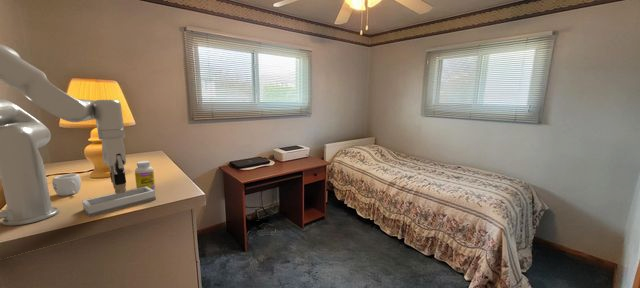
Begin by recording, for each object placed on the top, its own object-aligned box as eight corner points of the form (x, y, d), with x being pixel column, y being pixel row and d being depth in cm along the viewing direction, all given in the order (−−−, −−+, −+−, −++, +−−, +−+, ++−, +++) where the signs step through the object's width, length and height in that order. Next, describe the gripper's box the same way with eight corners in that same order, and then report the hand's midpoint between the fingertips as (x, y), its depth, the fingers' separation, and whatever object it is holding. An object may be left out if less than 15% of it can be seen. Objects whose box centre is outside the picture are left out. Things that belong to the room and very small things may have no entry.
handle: (117, 196, 92) (111, 155, 90) (109, 193, 95) (103, 154, 93) (132, 192, 96) (126, 153, 94) (124, 189, 100) (118, 151, 97)
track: (89, 216, 86) (87, 207, 85) (83, 209, 92) (81, 200, 91) (155, 199, 101) (154, 190, 101) (147, 194, 107) (146, 186, 107)
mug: (51, 195, 106) (47, 177, 105) (77, 189, 114) (74, 172, 112) (63, 200, 101) (60, 181, 100) (90, 193, 108) (87, 175, 107)
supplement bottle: (140, 194, 107) (136, 164, 105) (134, 191, 111) (131, 162, 109) (158, 190, 112) (154, 161, 110) (152, 187, 116) (148, 159, 114)
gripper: (92, 133, 94) (100, 181, 97) (104, 137, 84) (112, 190, 87) (117, 131, 100) (124, 176, 103) (131, 134, 90) (138, 184, 93)
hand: (118, 182), depth 95 cm, fingers closed on handle, 4 cm apart
